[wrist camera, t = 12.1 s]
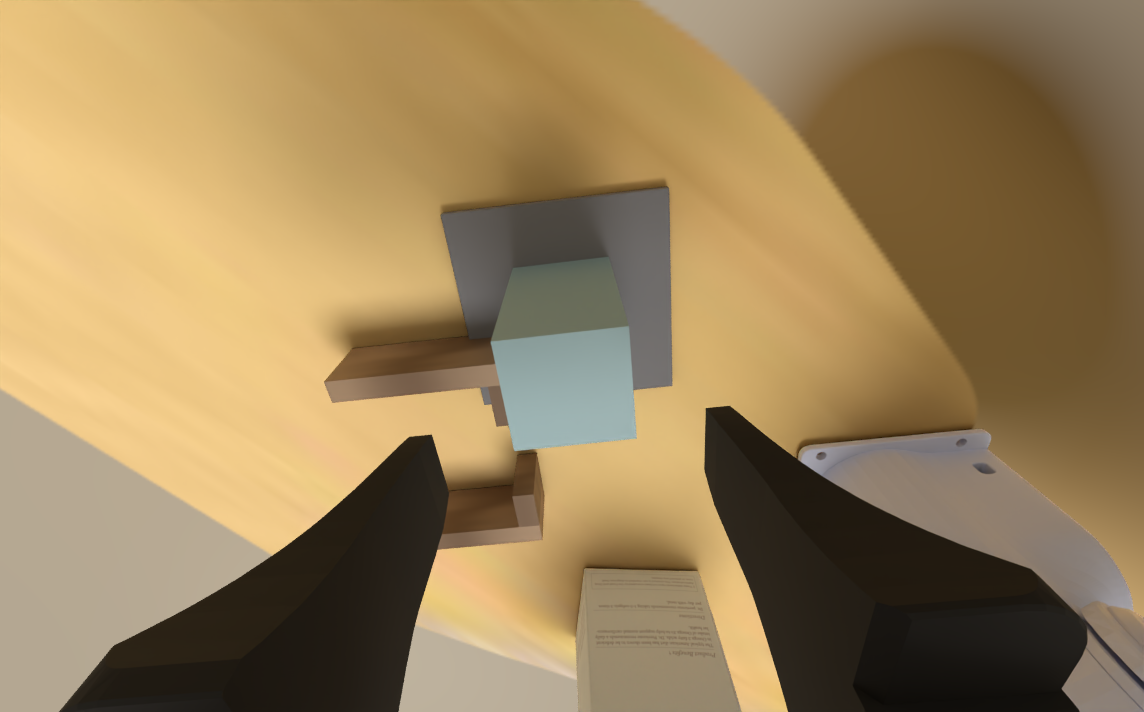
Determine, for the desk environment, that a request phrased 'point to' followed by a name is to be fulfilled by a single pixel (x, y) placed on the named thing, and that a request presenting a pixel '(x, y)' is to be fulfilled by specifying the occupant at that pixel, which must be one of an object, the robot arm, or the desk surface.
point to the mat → (568, 233)
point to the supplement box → (649, 645)
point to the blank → (564, 356)
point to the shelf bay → (445, 369)
